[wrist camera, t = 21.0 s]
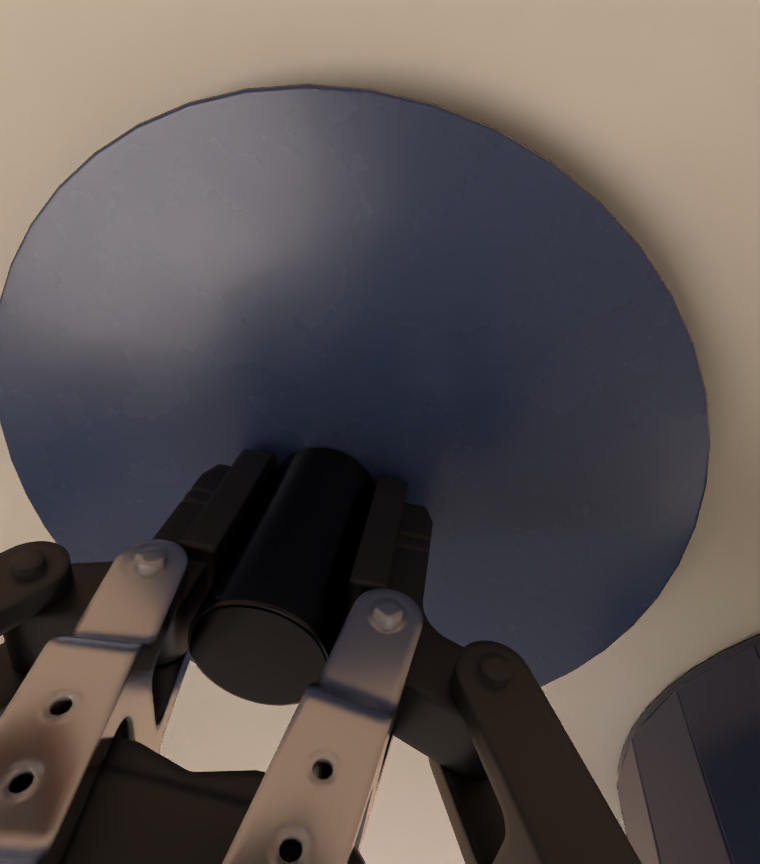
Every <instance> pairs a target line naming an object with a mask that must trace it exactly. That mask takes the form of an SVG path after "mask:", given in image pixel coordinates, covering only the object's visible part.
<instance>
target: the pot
mask: <svg viewBox="0 0 760 864" xmlns="http://www.w3.org/2000/svg"><path fill="white" fill-rule="evenodd" d="M617 789H618V794H619V800H620V805H621V810H622V815H623V820H624V826H625V831H626V836H627V838H628V840H629V842H630V844H631V845H632V847H633V849H634V850H635V852H636V854H637V856H638V857H639V859H640V861H641V863H642V864H760V635H758V636H755V637H753V638H751V639H749V640H747V641H744V642H742V643H740V644H738V645H736V646H734V647H731V648H729V649H727V650H725V651H723V652H721V653H719V654H717V655H716V656H714V657H712V658H711V659H709V660H707V661H705V662H704V663H702V664H700V665H699V666H697V667H695V668H694V669H692V670H690V671H689V672H688V673H687V674H685V675H684V676H683V677H681V678H680V679H679V680H677V681H676V682H675V683H673V684H672V685H671V686H669V687H668V688H667V689H666V690H665V691H664V692H663V693H662V694H661V695H660V696H658V697H657V698H656V699H655V700H654V701H653V702H652V703H651V704H650V705H649V706H648V707H647V709H646V710H645V711H644V713H643V714H642V715H641V717H640V718H639V719H638V721H637V722H636V724H635V725H634V726H633V728H632V730H631V732H630V734H629V736H628V738H627V740H626V742H625V744H624V746H623V750H622V754H621V758H620V762H619V766H618V782H617Z"/></svg>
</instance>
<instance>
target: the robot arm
mask: <svg viewBox="0 0 760 864" xmlns="http://www.w3.org/2000/svg"><path fill="white" fill-rule="evenodd" d="M275 473H276V456H275V454H271V453H266V452H261V451H256V450H251V449H246V448H245V449H243V450H242V452H241V453H240V455H239V456H238V457H237V459H236V460H235V462H234V463H233V465H232V466H227V465H222V464H218V465H216V466H215V467H213V468H211V469H209V470H208V471H206V472H204V473H203V474H201V476H200V477H199V478H198V480H197V481H196V482H195V484H194V485H193V486H192V488H191V490H189V492H188V493H187V494H186V496H185V497H184V498H183V501H181V502H180V503H179V505H178V506H177V507H176V509H175V510H174V511H173V513H172V514H171V515H170V517H169V518H168V519H167V521H166V522H165V523H164V525H163V526H162V527H161V529H160V530H159V531H158V532H157V534H156V535H155V536H154V538H153V539H152V540H145V541H141V542H138V543H135V544H133V545H131V546H129V547H127V548H126V549H124V550H123V551H122V552H121V553H120V554H119V555H118V556H117V557H116V559H115V560H114V561H110V562H92V563H71V560H70V555H69V553H68V551H67V550H66V549H65V548H64V547H63V546H61V545H59V544H56V543H53V542H46V541H36V542H29V543H24V544H21V545H18V546H15V547H13V548H10V549H8V550H6V551H4V552H2V553H0V636H1V635H3V637H4V640H5V642H4V643H2V644H1V645H0V864H366V863H365V861H364V859H363V858H362V856H361V854H360V852H359V851H360V848H361V844H362V841H363V837H364V834H365V830H366V827H367V823H368V820H369V816H370V812H371V809H372V805H373V802H374V799H375V795H376V792H377V789H378V785H379V782H380V779H381V775H382V772H383V769H384V765H385V762H386V759H387V756H388V752H389V749H390V746H391V742H392V739H393V736H395V737H397V738H399V739H400V740H402V741H404V742H405V743H407V744H408V745H410V746H412V747H413V748H415V749H417V750H418V751H420V752H421V753H423V754H425V755H426V756H428V757H429V762H430V766H431V769H432V772H433V775H434V777H435V780H436V783H437V786H438V788H439V791H440V794H441V797H442V800H443V802H444V805H445V808H446V811H447V813H448V816H449V819H450V822H451V825H452V827H453V830H454V833H455V836H456V839H457V841H458V844H459V847H460V850H461V852H462V855H463V858H464V861H465V864H642V863H641V861H640V859H639V857H638V856H637V854H636V852H635V850H634V849H633V847H632V845H631V844H630V842H629V840H628V838H627V837H626V835H625V833H624V831H623V830H622V828H621V826H620V824H619V823H618V821H617V819H616V818H615V816H614V814H613V812H612V811H611V809H610V807H609V805H608V804H607V802H606V800H605V798H604V797H603V795H602V793H601V792H600V790H599V788H598V786H597V785H596V783H595V781H594V779H593V778H592V776H591V774H590V772H589V771H588V769H587V767H586V766H585V764H584V762H583V760H582V759H581V757H580V755H579V753H578V752H577V750H576V748H575V746H574V745H573V743H572V741H571V740H570V738H569V736H568V734H567V733H566V731H565V729H564V727H563V726H562V724H561V722H560V720H559V719H558V717H557V715H556V714H555V712H554V710H553V708H552V707H551V705H550V703H549V701H548V700H547V698H546V696H545V694H544V693H543V691H542V689H541V688H540V686H539V684H538V682H537V681H536V679H535V677H534V675H533V674H532V672H531V670H530V668H529V667H528V665H527V664H526V662H525V661H524V660H523V658H522V657H521V656H520V655H519V654H518V653H516V652H515V651H514V650H512V649H511V648H509V647H507V646H505V645H503V644H501V643H498V642H494V641H487V640H481V641H475V642H472V643H470V644H468V645H466V646H465V647H463V646H461V645H459V644H457V643H455V642H453V641H451V640H449V639H448V638H446V637H444V636H443V635H441V634H440V633H439V632H437V631H436V630H435V629H434V628H433V626H432V625H431V624H430V623H429V621H428V619H427V618H426V615H425V613H424V609H423V598H424V590H425V582H426V574H427V566H428V558H429V550H430V542H431V534H432V526H433V521H432V519H431V517H430V515H429V513H428V510H427V508H426V507H424V506H419V505H414V504H409V503H405V497H406V492H407V487H408V482H406V481H401V480H397V479H392V478H387V477H382V476H379V478H378V482H377V485H376V489H375V492H374V496H373V499H372V503H371V506H370V510H369V513H368V517H367V520H366V524H365V527H364V531H363V534H362V538H361V542H360V545H359V549H358V552H357V556H356V559H355V563H354V566H353V570H352V573H351V577H350V580H349V587H348V594H347V600H346V607H345V615H346V619H345V623H344V626H343V628H342V630H341V632H340V634H339V636H338V638H337V641H336V643H335V645H334V647H333V649H332V651H331V653H330V656H329V658H328V660H327V662H326V664H325V666H324V669H323V671H322V673H321V675H320V677H319V679H318V681H317V682H316V683H314V682H311V683H310V684H309V686H308V687H307V689H306V691H305V692H304V694H303V696H302V698H301V700H300V702H299V705H298V707H297V709H296V711H295V713H294V715H293V717H292V719H291V721H290V723H289V725H288V727H287V730H286V732H285V734H284V736H283V738H282V740H281V742H280V744H279V746H278V748H277V750H276V752H275V755H274V757H273V759H272V761H271V763H270V765H269V767H268V769H267V771H266V773H265V772H261V771H257V770H252V771H218V772H191V771H188V770H186V769H184V768H182V767H180V766H179V765H177V764H175V763H174V762H172V761H170V760H169V759H167V758H165V757H163V756H162V755H160V747H161V742H162V738H163V735H164V732H165V729H166V726H167V723H168V721H169V718H170V715H171V712H172V709H173V706H174V703H175V701H176V698H177V695H178V692H179V689H180V686H181V684H182V681H183V678H184V675H185V672H186V669H187V666H188V664H189V661H190V658H191V654H190V651H189V648H188V630H189V626H190V624H191V621H192V619H193V618H194V616H195V614H196V612H197V611H198V609H199V607H200V605H201V604H202V602H203V600H204V598H205V596H206V595H207V593H208V591H209V589H210V588H211V586H212V584H213V582H214V580H215V579H216V577H217V575H218V573H219V572H220V570H221V568H222V566H223V565H224V563H225V561H226V559H227V557H228V556H229V554H230V552H231V550H232V549H233V547H234V545H235V543H236V542H237V540H238V538H239V536H240V534H241V533H242V531H243V529H244V527H245V526H246V524H247V522H248V520H249V519H250V517H251V515H252V513H253V511H254V510H255V508H256V506H257V504H258V503H259V501H260V499H261V497H262V496H263V494H264V492H265V490H266V488H267V487H268V485H269V483H270V481H271V480H272V478H273V476H274V474H275Z"/></svg>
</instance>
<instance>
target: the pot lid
mask: <svg viewBox="0 0 760 864" xmlns="http://www.w3.org/2000/svg"><path fill="white" fill-rule="evenodd" d="M0 423H1V427H2V430H3V433H4V437H5V440H6V443H7V447H8V450H9V454H10V457H11V460H12V462H13V465H14V467H15V469H16V472H17V474H18V476H19V479H20V481H21V483H22V486H23V488H24V490H25V493H26V495H27V496H28V498H29V500H30V502H31V504H32V505H33V507H34V509H35V511H36V512H37V514H38V516H39V518H40V519H41V521H42V523H43V525H44V526H45V528H46V529H47V531H48V532H49V533H50V535H51V536H52V538H53V539H54V540H55V542H56V543H57V544H59V545H61V546H63V547H64V548H65V549H66V550H67V551H68V553H69V555H70V560H71V563H92V562H110V561H114V560H115V559H116V557H117V556H118V555H119V554H120V553H121V552H122V551H123V550H124V549H126V548H127V547H129V546H131V545H133V544H135V543H138V542H141V541H145V540H152V539H153V538H154V536H155V535H156V534H157V532H158V531H159V530H160V529H161V527H162V526H163V525H164V523H165V522H166V521H167V519H168V518H169V517H170V515H171V514H172V513H173V511H174V510H175V509H176V507H177V506H178V505H179V503H180V502H181V501H183V498H184V497H185V496H186V494H187V493H188V492H189V490H191V488H192V486H193V485H194V484H195V482H196V481H197V480H198V478H199V477H200V476H201V474H203V473H204V472H206V471H208V470H209V469H211V468H213V467H215V466H216V465H218V464H222V465H227V466H232V465H233V463H234V462H235V460H236V459H237V457H238V456H239V455H240V453H241V452H242V450H243V449H245V448H246V449H251V450H256V451H261V452H266V453H271V454H275V456H276V473H275V474H274V476H273V478H272V480H271V481H270V483H269V485H268V487H267V488H266V490H265V492H264V494H263V496H262V497H261V499H260V501H259V503H258V504H257V506H256V508H255V510H254V511H253V513H252V515H251V517H250V519H249V520H248V522H247V524H246V526H245V527H244V529H243V531H242V533H241V534H240V536H239V538H238V540H237V542H236V543H235V545H234V547H233V549H232V550H231V552H230V554H229V556H228V557H227V559H226V561H225V563H224V565H223V566H222V568H221V570H220V572H219V573H218V575H217V577H216V579H215V580H214V582H213V584H212V586H211V588H210V589H209V591H208V593H207V595H206V596H205V598H204V600H203V602H202V604H201V605H200V607H199V609H198V611H197V612H196V614H195V616H194V618H193V619H192V621H191V624H190V626H189V630H188V648H189V651H190V654H191V658H190V660H191V661H192V662H194V663H195V664H196V665H197V667H198V668H199V669H200V670H201V672H202V673H203V674H204V675H205V676H206V677H207V678H208V679H210V680H211V681H212V682H213V683H215V684H216V685H217V686H219V687H220V688H222V689H223V690H225V691H227V692H229V693H231V694H233V695H235V696H237V697H240V698H242V699H245V700H248V701H252V702H255V703H260V704H265V705H278V706H283V705H293V704H298V703H299V702H300V700H301V698H302V696H303V694H304V692H305V691H306V689H307V687H308V686H309V684H310V683H311V682H314V683H316V682H317V681H318V679H319V677H320V675H321V673H322V671H323V669H324V666H325V664H326V662H327V660H328V658H329V656H330V653H331V651H332V649H333V647H334V645H335V643H336V641H337V638H338V636H339V634H340V632H341V630H342V628H343V626H344V623H345V619H346V615H345V607H346V600H347V594H348V587H349V580H350V577H351V573H352V570H353V566H354V563H355V559H356V556H357V552H358V549H359V545H360V542H361V538H362V534H363V531H364V527H365V524H366V520H367V517H368V513H369V510H370V506H371V503H372V499H373V496H374V492H375V489H376V485H377V482H378V478H379V476H382V477H387V478H392V479H397V480H401V481H406V482H408V487H407V492H406V497H405V503H409V504H414V505H419V506H424V507H426V508H427V510H428V513H429V515H430V517H431V519H432V521H433V526H432V534H431V542H430V550H429V558H428V566H427V574H426V582H425V590H424V598H423V609H424V613H425V615H426V618H427V619H428V621H429V623H430V624H431V625H432V626H433V628H434V629H435V630H436V631H437V632H439V633H440V634H441V635H443V636H444V637H446V638H448V639H449V640H451V641H453V642H455V643H457V644H459V645H461V646H463V647H465V646H466V645H468V644H470V643H472V642H475V641H481V640H487V641H494V642H498V643H501V644H503V645H505V646H507V647H509V648H511V649H512V650H514V651H515V652H516V653H518V654H519V655H520V656H521V657H522V658H523V660H524V661H525V662H526V664H527V665H528V667H529V668H530V670H531V672H532V674H533V675H534V677H535V679H536V681H537V682H538V684H539V686H540V687H542V686H544V685H546V684H548V683H550V682H552V681H554V680H556V679H558V678H560V677H562V676H564V675H566V674H568V673H570V672H572V671H574V670H575V669H577V668H578V667H580V666H581V665H583V664H584V663H586V662H587V661H589V660H590V659H592V658H593V657H595V656H596V655H598V654H599V653H601V652H602V651H604V650H605V649H606V648H608V647H609V646H610V645H611V644H612V643H613V642H615V641H616V640H617V639H618V638H619V637H620V636H621V635H623V634H624V633H625V632H626V631H627V630H628V629H630V628H631V627H632V626H633V625H634V624H635V623H636V621H637V620H638V619H639V618H640V617H641V616H642V615H643V613H644V612H645V611H646V610H647V609H648V608H649V607H650V605H651V604H652V603H653V602H654V601H655V600H656V599H657V597H658V596H659V595H660V593H661V591H662V590H663V588H664V587H665V585H666V584H667V582H668V581H669V579H670V577H671V576H672V574H673V573H674V571H675V570H676V568H677V567H678V565H679V563H680V561H681V559H682V556H683V554H684V552H685V549H686V547H687V545H688V543H689V540H690V538H691V536H692V534H693V531H694V529H695V527H696V523H697V519H698V515H699V511H700V507H701V503H702V500H703V496H704V492H705V488H706V482H707V470H708V459H709V448H710V433H709V421H708V409H707V397H706V391H705V387H704V383H703V379H702V375H701V371H700V367H699V363H698V359H697V355H696V351H695V347H694V344H693V342H692V339H691V337H690V335H689V333H688V330H687V328H686V326H685V323H684V321H683V319H682V317H681V314H680V312H679V310H678V308H677V305H676V303H675V301H674V298H673V296H672V294H671V293H670V291H669V290H668V288H667V287H666V285H665V284H664V282H663V280H662V279H661V277H660V276H659V274H658V273H657V271H656V270H655V268H654V267H653V265H652V264H651V262H650V260H649V259H648V257H647V256H646V254H645V253H644V251H643V250H642V248H641V247H640V246H639V245H638V243H637V242H636V241H635V240H634V239H633V238H632V237H631V236H630V235H629V233H628V232H627V231H626V230H625V229H624V228H623V227H622V226H621V225H620V223H619V222H618V221H617V220H616V219H615V218H614V217H613V216H612V215H611V213H610V212H609V211H608V210H607V209H606V208H605V207H604V206H603V205H602V203H601V202H600V201H598V200H597V199H596V198H595V197H594V196H593V195H591V194H590V193H589V192H588V191H586V190H585V189H584V188H583V187H582V186H580V185H579V184H578V183H577V182H575V181H574V180H573V179H572V178H571V177H569V176H568V175H567V174H566V173H564V172H563V171H562V170H561V169H560V168H558V167H557V166H556V165H555V164H553V163H552V162H551V161H550V160H548V159H547V158H545V157H543V156H542V155H540V154H538V153H536V152H535V151H533V150H531V149H530V148H528V147H526V146H525V145H523V144H521V143H520V142H518V141H516V140H515V139H513V138H511V137H509V136H508V135H506V134H504V133H503V132H501V131H499V130H498V129H496V128H494V127H491V126H489V125H486V124H484V123H481V122H479V121H477V120H474V119H472V118H469V117H467V116H464V115H462V114H459V113H457V112H454V111H452V110H449V109H447V108H444V107H442V106H440V105H437V104H433V103H429V102H425V101H421V100H416V99H412V98H408V97H404V96H400V95H396V94H391V93H387V92H383V91H379V90H374V89H362V88H350V87H337V86H325V85H313V84H301V85H288V86H274V87H261V88H248V89H242V90H238V91H234V92H230V93H226V94H222V95H218V96H213V97H209V98H205V99H201V100H197V101H193V102H189V103H186V104H184V105H182V106H179V107H177V108H175V109H172V110H170V111H168V112H165V113H163V114H161V115H158V116H156V117H154V118H151V119H149V120H147V121H144V122H142V123H140V124H138V125H136V126H135V127H133V128H132V129H130V130H129V131H127V132H125V133H124V134H122V135H121V136H119V137H118V138H116V139H115V140H113V141H112V142H110V143H109V144H107V145H106V146H104V147H102V148H101V149H99V150H98V151H96V152H95V153H94V154H93V155H92V156H91V157H89V158H88V159H87V160H86V161H85V162H84V163H83V164H82V165H81V166H80V167H79V168H78V169H77V170H76V171H75V172H74V173H72V174H71V175H70V176H69V177H68V178H67V179H66V180H65V181H64V182H63V183H62V184H61V185H60V186H59V187H58V188H57V190H56V191H55V192H54V194H53V195H52V196H51V198H50V199H49V200H48V202H47V203H46V204H45V206H44V207H43V208H42V210H41V211H40V212H39V214H38V215H37V217H36V218H35V219H34V221H33V222H32V223H31V225H30V227H29V229H28V231H27V233H26V235H25V237H24V239H23V241H22V243H21V245H20V247H19V249H18V251H17V253H16V255H15V257H14V259H13V261H12V263H11V266H10V269H9V272H8V276H7V279H6V282H5V286H4V289H3V292H2V296H1V299H0Z"/></svg>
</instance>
